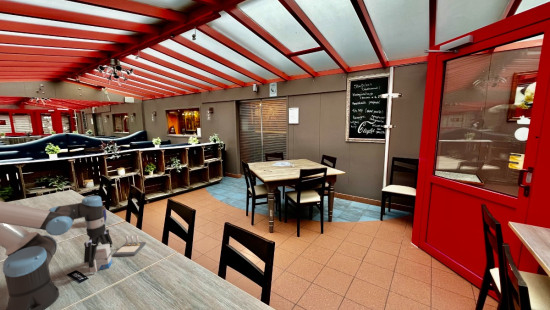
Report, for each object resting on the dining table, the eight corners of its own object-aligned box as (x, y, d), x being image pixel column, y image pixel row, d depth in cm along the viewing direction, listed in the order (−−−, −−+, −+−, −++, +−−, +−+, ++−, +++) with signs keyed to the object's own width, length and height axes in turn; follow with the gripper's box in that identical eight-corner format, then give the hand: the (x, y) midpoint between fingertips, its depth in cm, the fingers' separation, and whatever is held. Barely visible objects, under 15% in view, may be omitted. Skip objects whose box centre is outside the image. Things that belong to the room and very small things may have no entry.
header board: (134, 255, 124) (133, 243, 123) (112, 256, 124) (111, 244, 122) (145, 244, 136) (144, 233, 135) (126, 244, 135) (124, 233, 134)
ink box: (112, 262, 118) (110, 243, 116) (108, 268, 113) (105, 248, 112) (94, 265, 116) (91, 245, 114) (89, 271, 111) (86, 250, 109)
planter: (104, 225, 161) (102, 211, 159) (86, 227, 157) (84, 213, 155) (109, 219, 171) (107, 205, 169) (92, 221, 167) (90, 207, 165)
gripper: (86, 237, 100) (92, 280, 104) (117, 216, 122) (121, 252, 126) (69, 237, 100) (76, 280, 103) (103, 216, 122) (108, 253, 125)
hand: (101, 265), depth 115 cm, fingers open, 9 cm apart
